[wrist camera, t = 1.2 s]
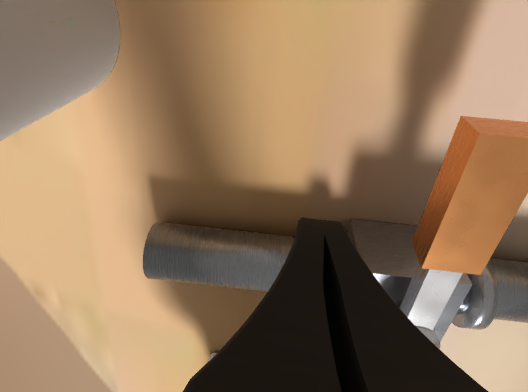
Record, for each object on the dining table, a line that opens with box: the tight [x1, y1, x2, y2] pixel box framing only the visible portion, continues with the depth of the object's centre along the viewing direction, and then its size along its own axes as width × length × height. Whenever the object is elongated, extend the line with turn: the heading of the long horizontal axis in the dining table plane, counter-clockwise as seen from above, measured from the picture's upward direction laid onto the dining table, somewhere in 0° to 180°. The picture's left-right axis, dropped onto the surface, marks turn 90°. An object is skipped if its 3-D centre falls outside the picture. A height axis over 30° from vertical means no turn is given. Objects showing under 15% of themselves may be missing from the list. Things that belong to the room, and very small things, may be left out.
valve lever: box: [399, 116, 528, 349], centre depth 15 cm, size 13×3×2 cm, turn 177°
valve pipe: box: [143, 219, 528, 341], centre depth 21 cm, size 6×30×5 cm, turn 87°
